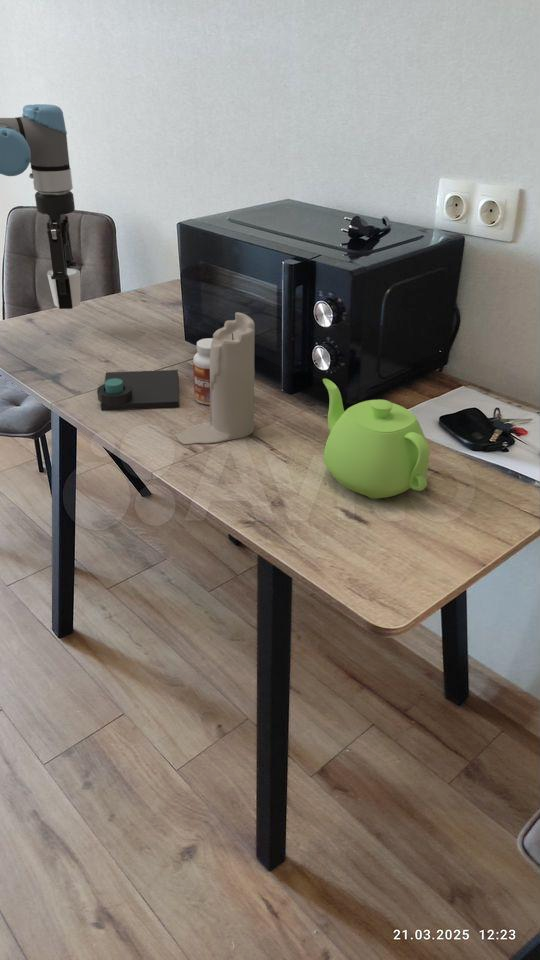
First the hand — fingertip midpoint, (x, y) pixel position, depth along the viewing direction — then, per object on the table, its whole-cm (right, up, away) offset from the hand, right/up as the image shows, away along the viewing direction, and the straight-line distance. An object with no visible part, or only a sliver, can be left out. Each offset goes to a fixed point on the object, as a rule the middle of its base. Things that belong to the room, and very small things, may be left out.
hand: (68, 302), depth 154 cm
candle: (+35, -31, -33) cm, 57 cm away
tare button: (+16, -23, -27) cm, 39 cm away
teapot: (+60, -39, -44) cm, 84 cm away
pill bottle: (+33, -24, -23) cm, 47 cm away
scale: (+20, -22, -21) cm, 37 cm away
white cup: (0, 0, 0) cm, 1 cm away
